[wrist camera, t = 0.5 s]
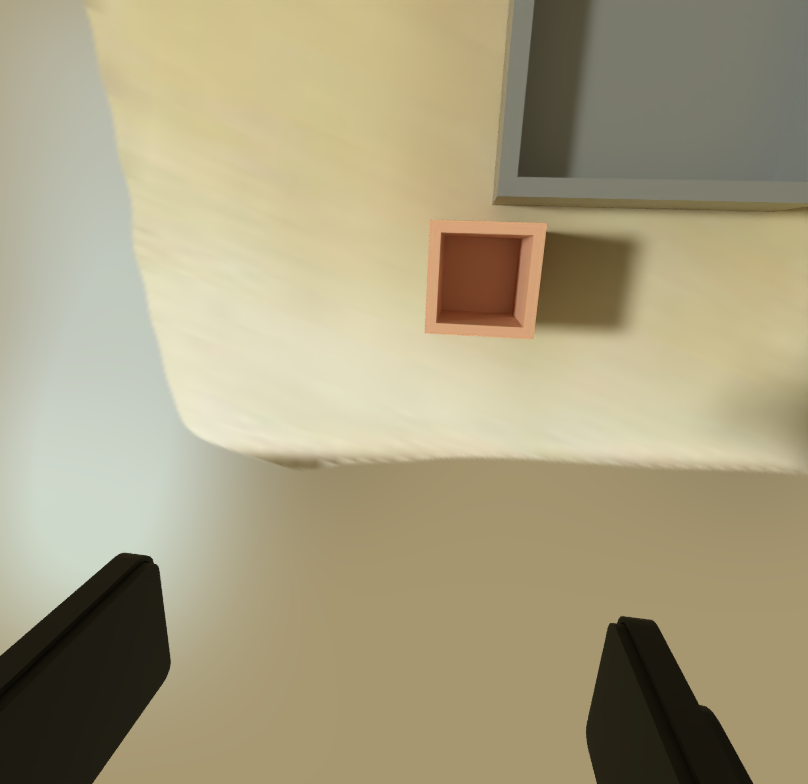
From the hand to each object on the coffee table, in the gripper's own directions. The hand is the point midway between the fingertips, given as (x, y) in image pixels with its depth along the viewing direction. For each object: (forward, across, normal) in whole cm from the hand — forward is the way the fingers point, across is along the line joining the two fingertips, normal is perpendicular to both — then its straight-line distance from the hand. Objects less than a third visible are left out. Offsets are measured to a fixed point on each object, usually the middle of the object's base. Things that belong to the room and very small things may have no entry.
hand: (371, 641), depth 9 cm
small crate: (+25, -2, -6) cm, 26 cm away
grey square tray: (+25, -11, -20) cm, 34 cm away
